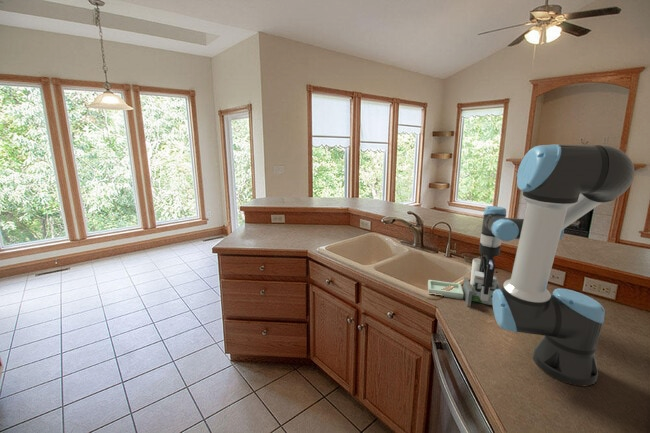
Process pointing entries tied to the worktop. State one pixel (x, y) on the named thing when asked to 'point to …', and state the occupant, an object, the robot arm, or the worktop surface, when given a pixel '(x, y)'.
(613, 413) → the worktop surface
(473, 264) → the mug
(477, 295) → the ink box
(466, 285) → the bay
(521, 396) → the worktop surface
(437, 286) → the tray
